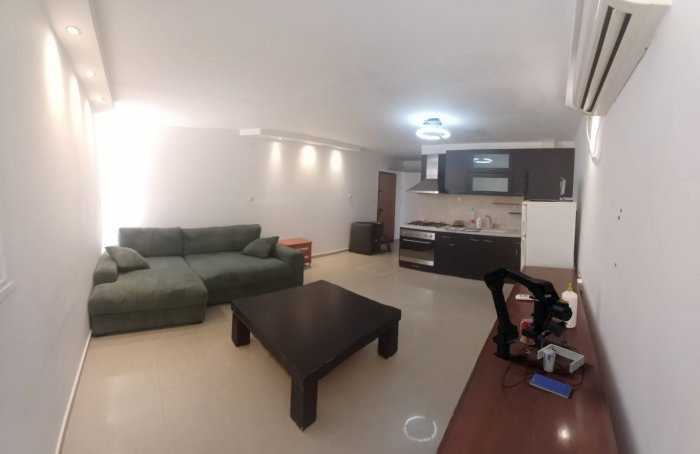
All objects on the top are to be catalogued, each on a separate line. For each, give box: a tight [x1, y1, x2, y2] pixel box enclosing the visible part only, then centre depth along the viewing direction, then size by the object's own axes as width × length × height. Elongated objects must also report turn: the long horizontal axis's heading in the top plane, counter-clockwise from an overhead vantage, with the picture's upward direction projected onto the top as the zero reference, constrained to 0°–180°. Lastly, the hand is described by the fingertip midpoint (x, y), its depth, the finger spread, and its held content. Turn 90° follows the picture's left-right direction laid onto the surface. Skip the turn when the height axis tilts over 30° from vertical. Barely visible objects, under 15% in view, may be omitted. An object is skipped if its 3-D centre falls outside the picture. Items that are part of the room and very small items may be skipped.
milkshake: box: [541, 347, 557, 373], centre depth 130 cm, size 4×5×10 cm
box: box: [537, 343, 586, 374], centre depth 137 cm, size 13×14×4 cm
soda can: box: [519, 317, 536, 346], centre depth 154 cm, size 7×7×12 cm
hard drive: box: [529, 373, 573, 399], centre depth 119 cm, size 2×8×12 cm
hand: (539, 348), depth 125 cm, fingers closed
